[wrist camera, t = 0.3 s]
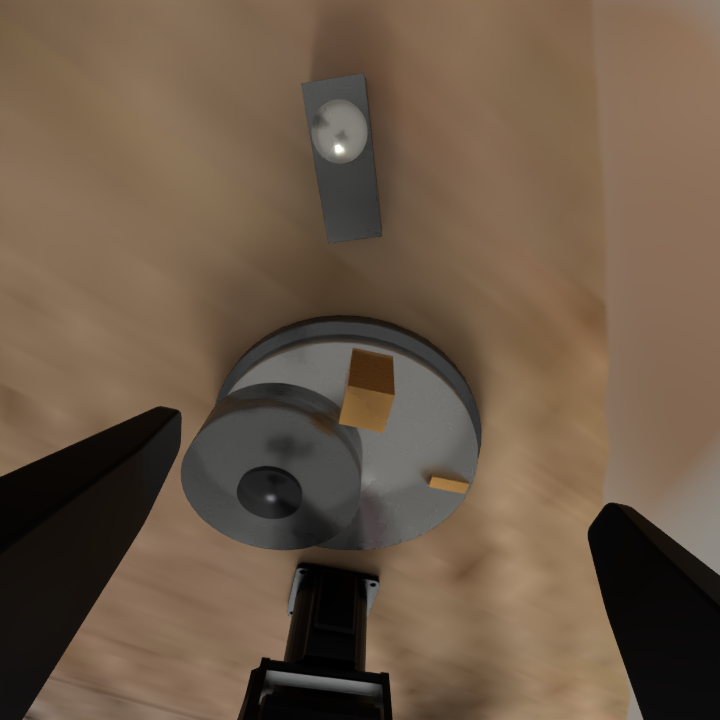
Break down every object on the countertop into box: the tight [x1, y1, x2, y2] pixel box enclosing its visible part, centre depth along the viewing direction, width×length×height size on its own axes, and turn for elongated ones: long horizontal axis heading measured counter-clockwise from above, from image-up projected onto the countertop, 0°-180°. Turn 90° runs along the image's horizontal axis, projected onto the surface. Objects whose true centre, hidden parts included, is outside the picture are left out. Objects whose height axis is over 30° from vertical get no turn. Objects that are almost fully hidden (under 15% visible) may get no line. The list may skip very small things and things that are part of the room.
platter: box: [227, 334, 478, 550], centre depth 22 cm, size 15×15×5 cm
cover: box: [181, 383, 363, 550], centre depth 22 cm, size 9×9×3 cm
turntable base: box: [215, 315, 481, 457], centre depth 25 cm, size 16×16×1 cm
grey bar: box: [301, 73, 382, 243], centre depth 18 cm, size 6×2×2 cm, turn 8°
